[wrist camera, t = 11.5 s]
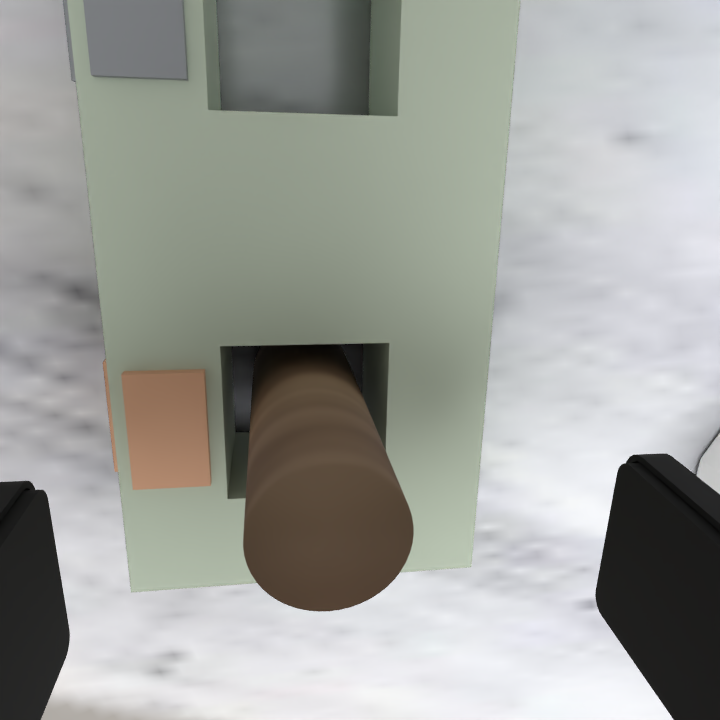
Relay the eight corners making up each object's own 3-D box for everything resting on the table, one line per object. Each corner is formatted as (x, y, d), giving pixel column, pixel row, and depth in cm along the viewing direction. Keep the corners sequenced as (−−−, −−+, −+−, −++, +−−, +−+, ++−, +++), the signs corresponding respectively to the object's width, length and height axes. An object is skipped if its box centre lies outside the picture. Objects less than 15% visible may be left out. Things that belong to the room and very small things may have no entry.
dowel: (252, 325, 20) (240, 466, 11) (348, 324, 21) (417, 458, 11) (254, 415, 21) (245, 617, 12) (346, 412, 22) (409, 604, 12)
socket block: (84, -183, 16) (9, -325, 11) (473, -146, 17) (548, -258, 13) (148, 509, 22) (117, 600, 17) (433, 493, 23) (474, 573, 19)
